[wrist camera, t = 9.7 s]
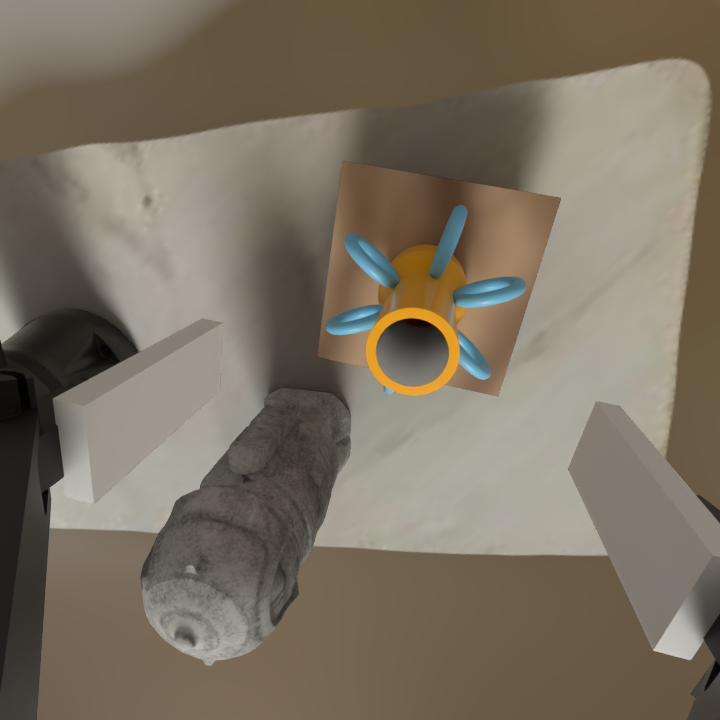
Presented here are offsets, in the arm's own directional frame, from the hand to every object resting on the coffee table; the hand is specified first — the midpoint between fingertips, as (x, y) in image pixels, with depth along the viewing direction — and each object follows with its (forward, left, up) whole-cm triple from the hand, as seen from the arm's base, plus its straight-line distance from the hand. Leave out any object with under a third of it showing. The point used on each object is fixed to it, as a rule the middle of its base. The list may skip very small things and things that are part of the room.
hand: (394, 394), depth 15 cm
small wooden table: (0, 0, -27) cm, 27 cm away
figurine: (-9, -20, -27) cm, 35 cm away
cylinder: (0, 0, -19) cm, 19 cm away
